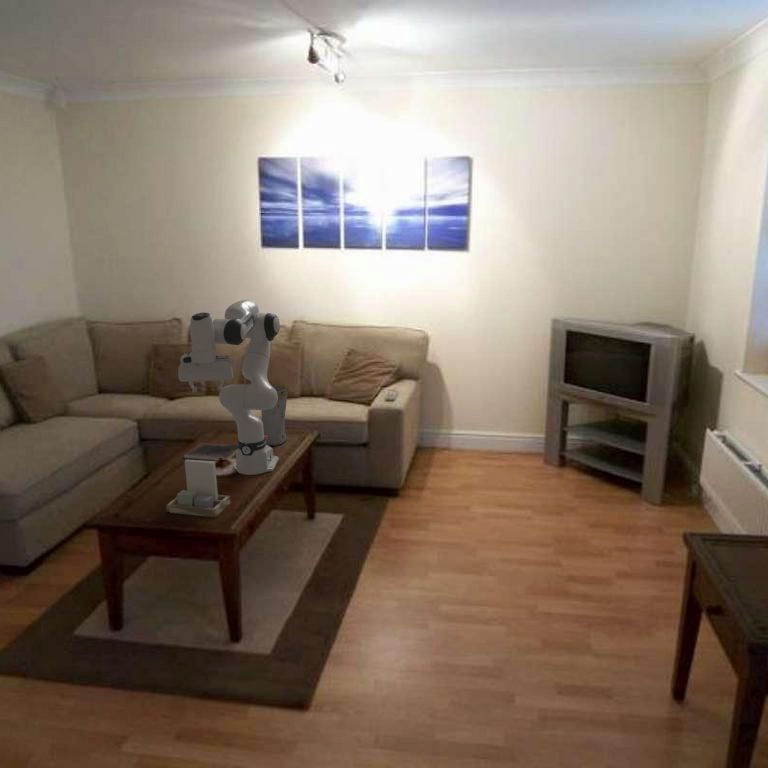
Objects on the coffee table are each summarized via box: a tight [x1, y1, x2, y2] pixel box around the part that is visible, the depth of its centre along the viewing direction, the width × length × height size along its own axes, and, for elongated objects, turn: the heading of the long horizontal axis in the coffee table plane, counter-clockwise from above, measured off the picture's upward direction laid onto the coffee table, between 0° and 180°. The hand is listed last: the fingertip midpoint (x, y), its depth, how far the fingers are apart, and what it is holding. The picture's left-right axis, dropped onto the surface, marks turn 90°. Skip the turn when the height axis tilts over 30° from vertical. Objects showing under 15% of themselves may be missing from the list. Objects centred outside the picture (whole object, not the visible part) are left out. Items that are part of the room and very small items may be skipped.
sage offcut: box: [176, 489, 197, 507], centre depth 258 cm, size 4×6×7 cm, turn 77°
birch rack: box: [165, 494, 231, 518], centre depth 259 cm, size 13×20×3 cm, turn 77°
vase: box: [260, 384, 288, 447], centre depth 327 cm, size 13×14×28 cm
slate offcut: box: [194, 495, 214, 508], centre depth 256 cm, size 4×6×6 cm, turn 77°
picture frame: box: [184, 442, 239, 461], centre depth 317 cm, size 16×2×22 cm
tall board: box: [184, 458, 219, 500], centre depth 261 cm, size 2×12×18 cm, turn 77°
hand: (207, 391), depth 255 cm, fingers open, 8 cm apart
